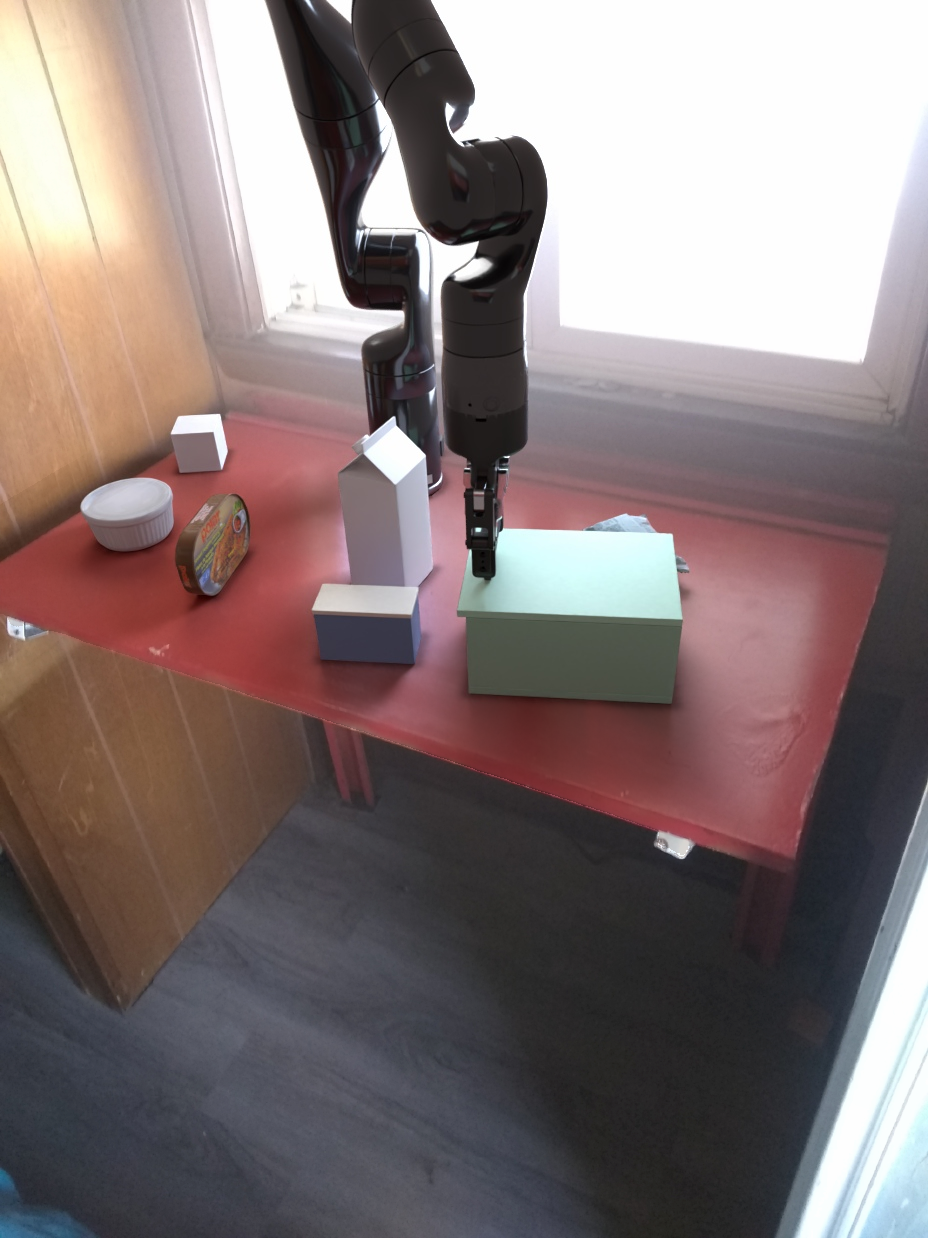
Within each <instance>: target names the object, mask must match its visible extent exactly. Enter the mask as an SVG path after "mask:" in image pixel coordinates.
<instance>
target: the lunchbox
mask: <svg viewBox="0 0 928 1238" xmlns="http://www.w3.org/2000/svg"><path fill="white" fill-rule="evenodd" d="M682 630H683V625H682V626H659V625H636V624H612V623H589V622H565V621H541V620H518V619H494V618H471V617H465V635H466V658H467V659H466V661H467V682H468V683H467V685H468V694H474V695H493V696H512V697H531V698H551V699H555V698H556V699H568V700H569V699H570V700H571V699H573V700H589V701H607V702H608V701H609V702H626V703H627V702H628V703H646V704H647V703H648V704H665V705H667V704H669V705H671V704H672V703H673V698H674V697H673V696H674V688H675V682H676V674H677V668H678V667H677V666H678V660H679V653H680V644H681V637H682Z"/></svg>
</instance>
